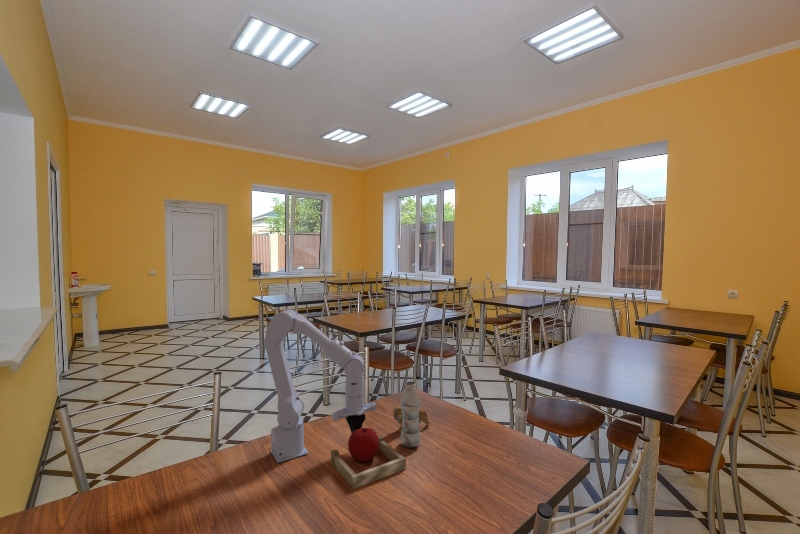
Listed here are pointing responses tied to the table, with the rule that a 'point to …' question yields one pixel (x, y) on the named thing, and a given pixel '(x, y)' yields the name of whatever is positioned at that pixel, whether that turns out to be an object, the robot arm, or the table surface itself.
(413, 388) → the plastic bottle
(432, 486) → the table surface
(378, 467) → the corral
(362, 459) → the apple
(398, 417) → the lion figurine
